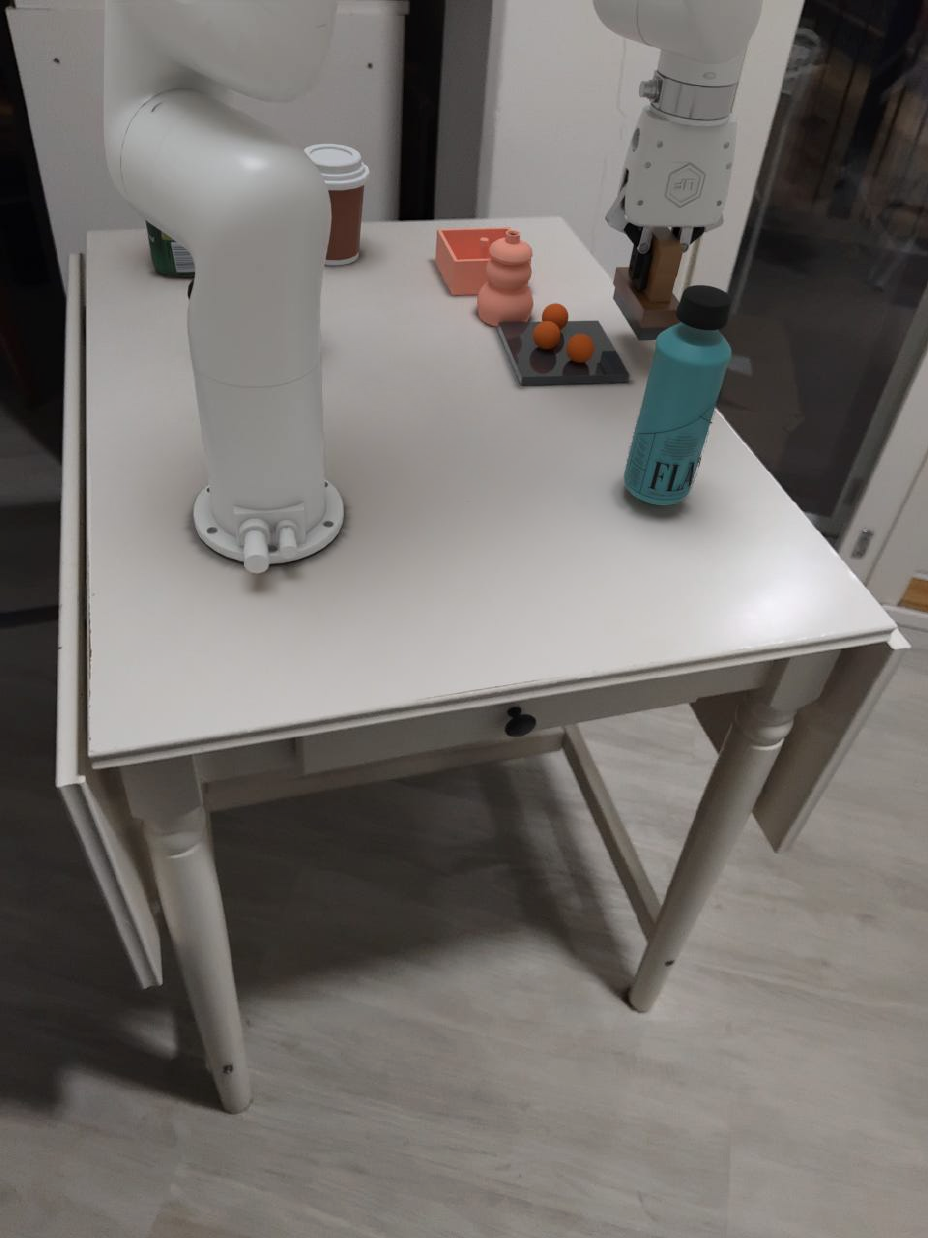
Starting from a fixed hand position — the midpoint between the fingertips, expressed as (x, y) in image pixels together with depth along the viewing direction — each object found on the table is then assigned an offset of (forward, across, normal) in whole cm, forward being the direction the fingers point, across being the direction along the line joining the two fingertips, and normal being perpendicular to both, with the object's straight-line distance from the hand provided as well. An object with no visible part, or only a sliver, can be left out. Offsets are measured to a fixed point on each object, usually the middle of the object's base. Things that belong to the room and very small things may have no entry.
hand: (650, 282), depth 101 cm
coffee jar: (+8, -50, +24) cm, 56 cm away
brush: (+4, 0, 0) cm, 4 cm away
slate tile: (+8, -9, 0) cm, 12 cm away
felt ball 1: (+6, -9, +4) cm, 11 cm away
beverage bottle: (+8, -7, -26) cm, 28 cm away
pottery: (+9, -14, +15) cm, 22 cm away
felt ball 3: (+6, -8, -3) cm, 10 cm away
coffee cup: (+9, -32, +26) cm, 42 cm away
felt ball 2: (+6, -11, 0) cm, 12 cm away
